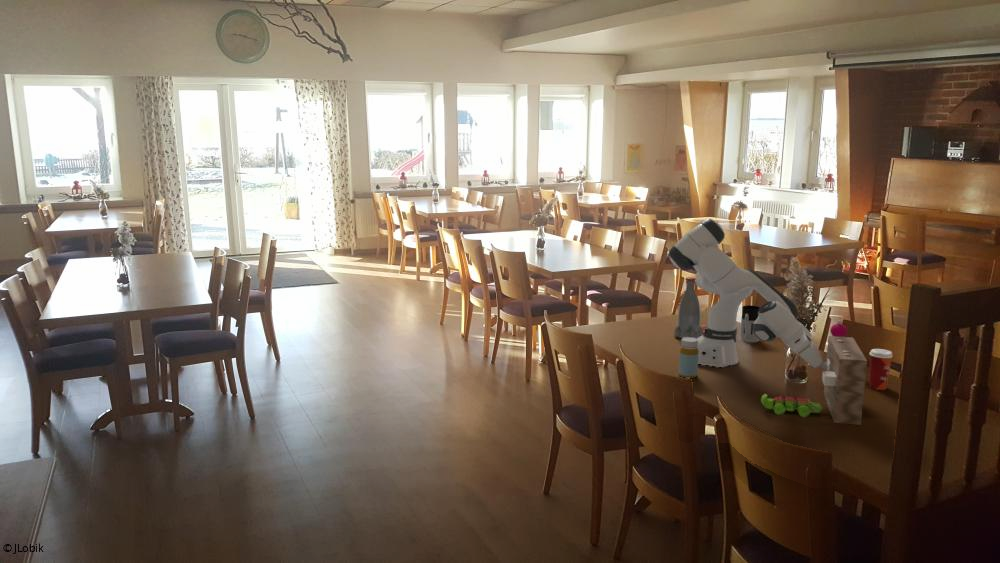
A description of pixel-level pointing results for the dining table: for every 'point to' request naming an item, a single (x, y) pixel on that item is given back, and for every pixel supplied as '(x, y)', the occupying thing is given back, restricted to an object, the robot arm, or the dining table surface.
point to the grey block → (828, 364)
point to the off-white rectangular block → (829, 378)
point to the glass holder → (749, 323)
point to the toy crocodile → (791, 405)
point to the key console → (846, 380)
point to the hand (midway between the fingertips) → (826, 367)
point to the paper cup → (879, 368)
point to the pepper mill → (838, 330)
